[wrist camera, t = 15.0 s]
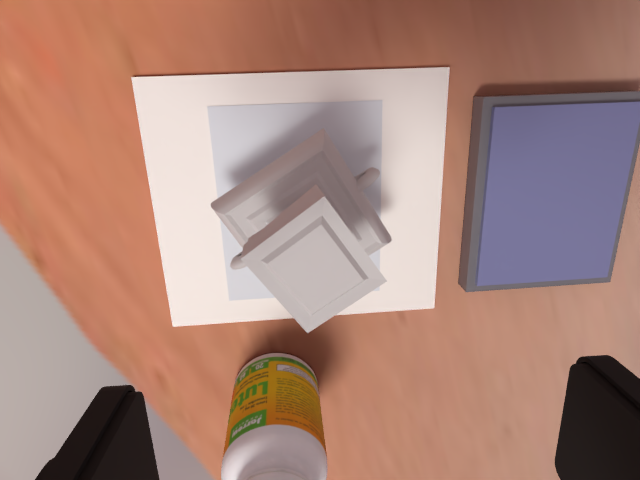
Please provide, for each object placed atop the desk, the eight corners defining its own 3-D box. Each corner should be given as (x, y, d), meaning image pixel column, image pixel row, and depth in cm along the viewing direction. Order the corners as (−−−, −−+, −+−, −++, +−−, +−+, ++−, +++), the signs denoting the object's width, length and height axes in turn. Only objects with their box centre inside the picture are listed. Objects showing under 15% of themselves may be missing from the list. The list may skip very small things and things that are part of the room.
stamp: (337, 109, 23) (368, 123, 15) (399, 210, 25) (455, 270, 17) (198, 204, 24) (157, 264, 16) (269, 293, 26) (265, 386, 18)
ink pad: (633, 90, 24) (655, 91, 23) (596, 274, 28) (613, 284, 26) (473, 96, 23) (486, 97, 22) (458, 283, 27) (467, 294, 26)
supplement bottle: (263, 335, 27) (254, 463, 18) (333, 373, 29) (358, 509, 19) (218, 397, 28) (189, 545, 19) (288, 430, 30) (291, 583, 21)
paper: (448, 67, 23) (450, 67, 22) (433, 306, 27) (434, 308, 27) (132, 77, 22) (131, 77, 21) (173, 324, 26) (172, 327, 26)
